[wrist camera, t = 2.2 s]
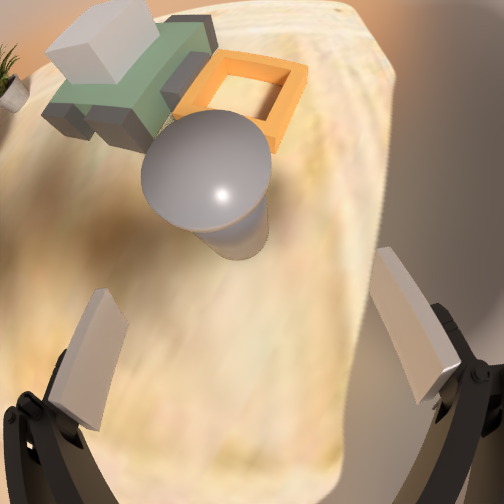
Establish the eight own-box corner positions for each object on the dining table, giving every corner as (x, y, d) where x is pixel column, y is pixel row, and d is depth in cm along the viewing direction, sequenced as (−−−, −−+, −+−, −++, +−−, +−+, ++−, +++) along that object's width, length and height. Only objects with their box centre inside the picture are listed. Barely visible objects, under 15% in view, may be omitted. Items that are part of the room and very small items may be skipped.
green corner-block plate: (64, 135, 30) (9, 87, 17) (133, 44, 32) (104, -10, 19) (260, 188, 26) (248, 95, 13) (314, 64, 28) (324, -18, 15)
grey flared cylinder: (192, 249, 25) (120, 202, 12) (219, 188, 26) (177, 101, 13) (257, 275, 24) (238, 248, 12) (283, 210, 25) (289, 127, 12)
